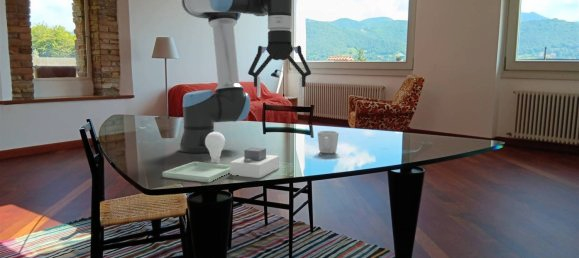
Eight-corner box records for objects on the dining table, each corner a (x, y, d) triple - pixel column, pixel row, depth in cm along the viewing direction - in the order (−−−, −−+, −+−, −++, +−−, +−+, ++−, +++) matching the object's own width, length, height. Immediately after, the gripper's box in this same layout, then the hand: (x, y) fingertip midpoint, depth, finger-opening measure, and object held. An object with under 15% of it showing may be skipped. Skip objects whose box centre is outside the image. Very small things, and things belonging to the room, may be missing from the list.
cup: (336, 156, 155) (336, 135, 154) (315, 155, 157) (315, 134, 155) (339, 151, 165) (339, 131, 164) (318, 150, 167) (319, 130, 166)
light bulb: (206, 162, 145) (205, 130, 143) (226, 161, 145) (225, 130, 144) (204, 166, 138) (203, 133, 137) (224, 166, 139) (224, 133, 137)
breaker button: (244, 162, 130) (244, 150, 129) (251, 159, 134) (251, 147, 134) (259, 164, 128) (258, 151, 127) (266, 161, 133) (266, 148, 132)
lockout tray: (162, 177, 124) (162, 172, 124) (194, 165, 139) (194, 161, 139) (208, 182, 118) (208, 177, 118) (237, 170, 133) (236, 165, 133)
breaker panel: (230, 174, 127) (229, 159, 126) (251, 165, 140) (251, 151, 139) (259, 178, 123) (259, 162, 123) (279, 168, 136) (279, 153, 135)
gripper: (238, 29, 131) (239, 97, 134) (319, 29, 130) (318, 98, 133) (242, 31, 138) (243, 96, 141) (318, 31, 137) (317, 96, 140)
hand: (279, 97), depth 137 cm, fingers open, 13 cm apart
